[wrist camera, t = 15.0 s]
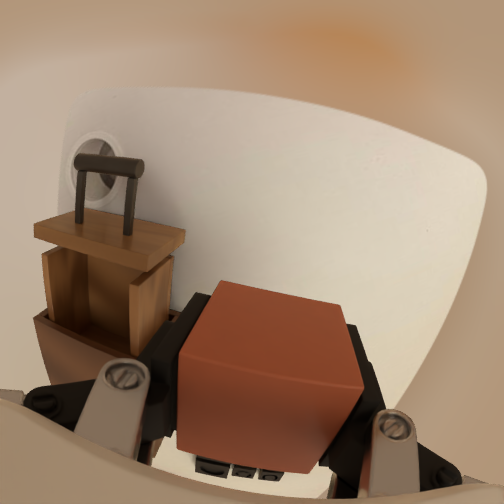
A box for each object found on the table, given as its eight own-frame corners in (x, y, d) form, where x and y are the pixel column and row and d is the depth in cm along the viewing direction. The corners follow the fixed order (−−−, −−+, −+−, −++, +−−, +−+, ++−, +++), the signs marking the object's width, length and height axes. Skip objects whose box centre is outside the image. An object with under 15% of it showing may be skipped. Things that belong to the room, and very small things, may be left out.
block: (207, 370, 11) (175, 449, 7) (220, 279, 10) (178, 352, 6) (307, 390, 11) (308, 475, 7) (341, 304, 10) (366, 388, 6)
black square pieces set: (164, 480, 43) (160, 492, 40) (153, 420, 34) (145, 438, 31) (260, 499, 42) (259, 512, 39) (293, 448, 33) (293, 468, 30)
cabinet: (84, 281, 29) (32, 317, 20) (185, 313, 28) (148, 369, 19) (95, 373, 33) (62, 414, 25) (178, 405, 33) (154, 458, 24)
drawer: (89, 150, 23) (36, 152, 16) (196, 163, 23) (158, 164, 16) (87, 321, 29) (51, 354, 22) (174, 352, 29) (147, 398, 22)
